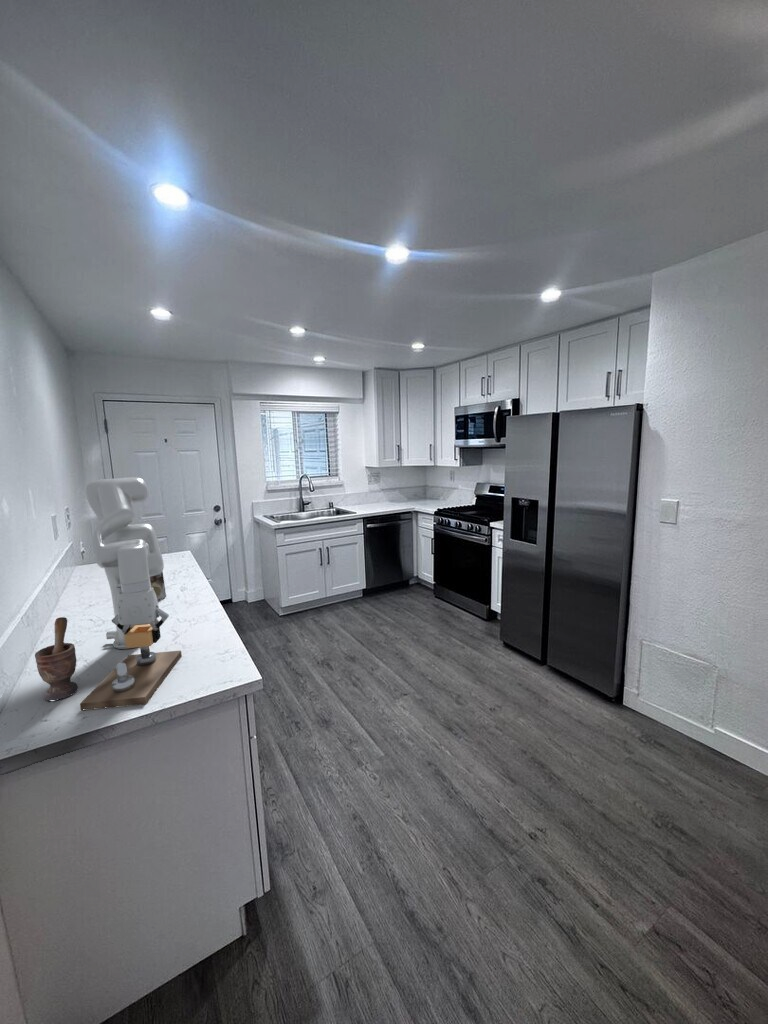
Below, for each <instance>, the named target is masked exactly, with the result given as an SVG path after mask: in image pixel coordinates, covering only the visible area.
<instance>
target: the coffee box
mask: <svg viewBox="0 0 768 1024" xmlns="http://www.w3.org/2000/svg"><path fill="white" fill-rule="evenodd" d="M163 571H164V570H163ZM163 571H162V572H161V573H160V574H158V575H155V576H151V577H150V584H151V587H153V589H154V591H155V594H156V597H157V601H159V599H160V600H162V598H163V599H165V597H166V598H167V593H166V586H165V578H164V572H163Z"/></svg>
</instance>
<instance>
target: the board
mask: <svg viewBox="0 0 768 1024" xmlns="http://www.w3.org/2000/svg"><path fill="white" fill-rule="evenodd" d="M140 654H141V653H139V654H138V653H137V654H129V655H127V656H126V657H125V658H124V659H123V660H122V661H121V662H124V663H125V664H126V667H127V674H128V676H134V680H135V686H134V687H133V688H132V689H130V690H128V691H125V692H121V693H115V692H113V688H112V682H113V681H114V680H116V679H117V672H116V667H115V668H114V669H113V670H112V671H111V672H110V673H109V674H108V675H107V676H106V677H105V678H104V679H103V680H102V681H101V682H99V684H98V685H97V686H95V688H94V689H93V690H92V691H91V692H90V693H89V694H88V695H87V696H86V697H85V698H84V699H83V700H82V701H81V702H80V703H79V707H80V711H81V710H82V711H84V710H83V709H92V710H95V709H94V708H102V709H106V708H105V707H112V708H118V707H117V706H122V707H128V706H129V707H130V705H132V706H140V704H141V705H147V704H148V703H149V701H150V700H151V698H152V697H153V696H154V695H155V693H156V692H157V690H158V689H159V688H160V687H161V686H162V684H163V682H164V681H165V679H167V677H168V676H169V674H170V673H171V671H172V670H173V669H174V667H175V666H176V665H177V664H178V662H179V661H180V660H181V658H182V657H183V656H182V650H172V651H170V650H169V651H160V652H155V654H156V661H155V662H154V663H152V664H150V665H147V666H137V662H136V657H137V656H138V655H140ZM157 688H158V689H157ZM155 691H156V692H155ZM154 692H155V693H154ZM152 695H153V696H152ZM151 696H152V697H151ZM149 699H150V700H149ZM127 705H128V706H127Z"/></svg>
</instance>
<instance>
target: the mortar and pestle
mask: <svg viewBox="0 0 768 1024" xmlns="http://www.w3.org/2000/svg"><path fill="white" fill-rule="evenodd" d="M67 627H68V618H67V617H63V616H62V617H56V619H55V621H54V644H53V645H49V646H46V647H44V648H41V649H40V650H38V651H35V654H34V658H35V663H36V669H37V671H38V674H39V677H40V678H41V679H42V681H43V682H45V683H46V684H48V685H49V688H48V689H46V691H45V693H44V699H45V698H46V699H47V700H46V699H45V700H46V701H48V700H57V699H60V700H62V699H61V698H63V699H65V698H68V697H71V696H72V695H73V693H74V694H75V693H77V691H78V690H77V689H79V686H78V684H77V683H76V682H74V681H72V680H71V678H72V676H74V673H75V672H76V666H77V655H76V648H75V644H73V643H70V642H69V643H68V642H65V637H66V631H67ZM71 694H72V695H71ZM57 701H58V700H57Z"/></svg>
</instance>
